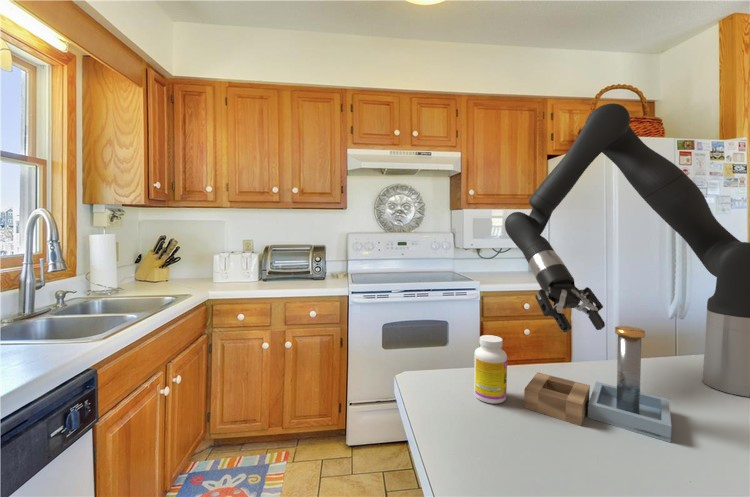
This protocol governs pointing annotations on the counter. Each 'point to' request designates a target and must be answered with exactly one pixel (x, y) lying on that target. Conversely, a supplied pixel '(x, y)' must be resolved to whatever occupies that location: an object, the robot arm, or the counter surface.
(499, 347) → the supplement bottle
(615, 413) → the tray
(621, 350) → the pin
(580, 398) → the socket block
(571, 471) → the counter surface
